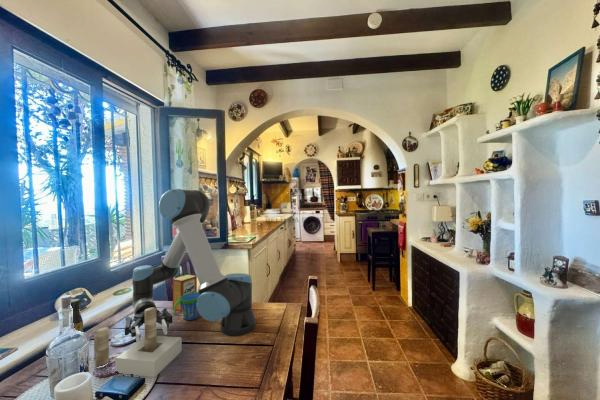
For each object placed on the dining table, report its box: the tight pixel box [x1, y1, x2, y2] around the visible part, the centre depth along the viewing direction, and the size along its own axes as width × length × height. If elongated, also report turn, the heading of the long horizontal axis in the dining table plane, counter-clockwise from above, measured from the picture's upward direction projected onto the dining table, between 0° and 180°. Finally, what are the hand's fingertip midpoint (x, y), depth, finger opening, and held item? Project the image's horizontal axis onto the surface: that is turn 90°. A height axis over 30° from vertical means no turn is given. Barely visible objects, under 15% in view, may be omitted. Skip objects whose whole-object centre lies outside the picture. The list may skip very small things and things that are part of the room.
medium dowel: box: [95, 326, 110, 368], centre depth 85 cm, size 4×4×12 cm
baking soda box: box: [172, 274, 198, 313], centre depth 132 cm, size 10×6×16 cm
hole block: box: [114, 335, 183, 378], centre depth 87 cm, size 14×14×5 cm
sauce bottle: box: [70, 298, 84, 333], centre depth 90 cm, size 6×6×20 cm
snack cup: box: [173, 291, 201, 321], centre depth 120 cm, size 16×10×10 cm
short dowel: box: [93, 334, 96, 360], centre depth 90 cm, size 4×4×8 cm
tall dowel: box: [144, 307, 157, 352], centre depth 87 cm, size 4×4×18 cm
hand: (152, 334), depth 83 cm, fingers open, 7 cm apart
